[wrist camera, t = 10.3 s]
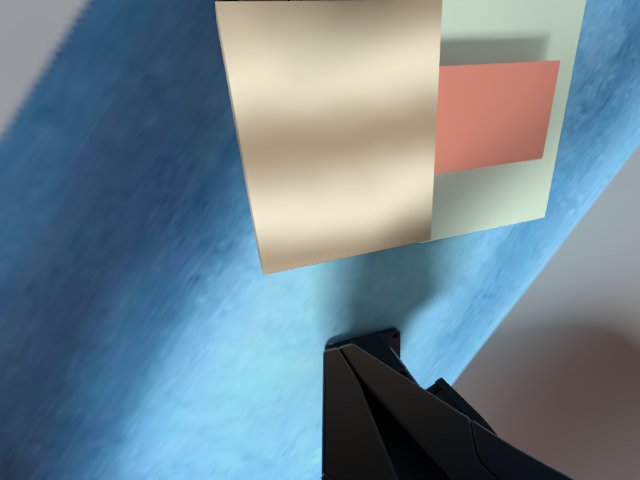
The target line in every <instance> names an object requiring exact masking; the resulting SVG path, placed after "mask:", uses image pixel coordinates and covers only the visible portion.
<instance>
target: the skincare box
mask: <svg viewBox="0 0 640 480" xmlns="http://www.w3.org/2000/svg"><path fill="white" fill-rule="evenodd" d="M240 1H273V0H240Z"/></svg>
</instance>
